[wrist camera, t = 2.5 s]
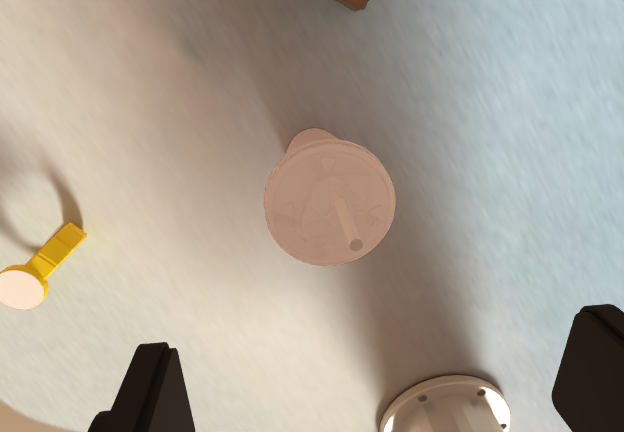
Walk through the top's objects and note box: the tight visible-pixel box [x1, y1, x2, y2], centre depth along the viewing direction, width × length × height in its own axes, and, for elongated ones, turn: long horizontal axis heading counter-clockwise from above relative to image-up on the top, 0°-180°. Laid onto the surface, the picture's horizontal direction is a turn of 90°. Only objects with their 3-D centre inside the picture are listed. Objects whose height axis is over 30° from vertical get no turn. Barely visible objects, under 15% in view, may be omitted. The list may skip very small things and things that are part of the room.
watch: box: [0, 223, 87, 309], centre depth 27 cm, size 6×3×6 cm, turn 131°
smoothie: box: [264, 128, 396, 266], centre depth 22 cm, size 6×6×14 cm
